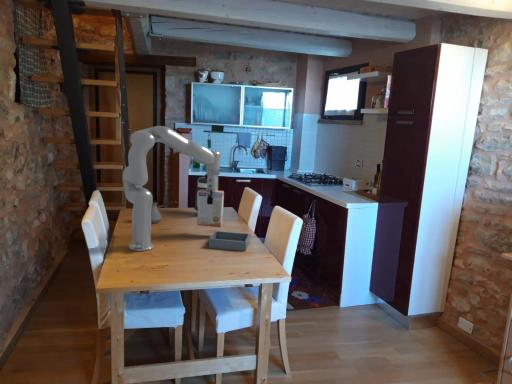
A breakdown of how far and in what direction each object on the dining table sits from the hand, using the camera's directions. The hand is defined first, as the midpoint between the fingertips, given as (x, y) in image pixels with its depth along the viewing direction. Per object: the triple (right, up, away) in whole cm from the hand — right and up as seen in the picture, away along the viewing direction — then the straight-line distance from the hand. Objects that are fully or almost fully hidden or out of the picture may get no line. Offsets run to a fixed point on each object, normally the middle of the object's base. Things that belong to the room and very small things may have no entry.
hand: (211, 202), depth 233 cm
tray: (+12, -23, -11) cm, 28 cm away
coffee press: (-10, -11, +51) cm, 53 cm away
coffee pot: (-36, -14, +26) cm, 47 cm away
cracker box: (-1, -14, +2) cm, 14 cm away
